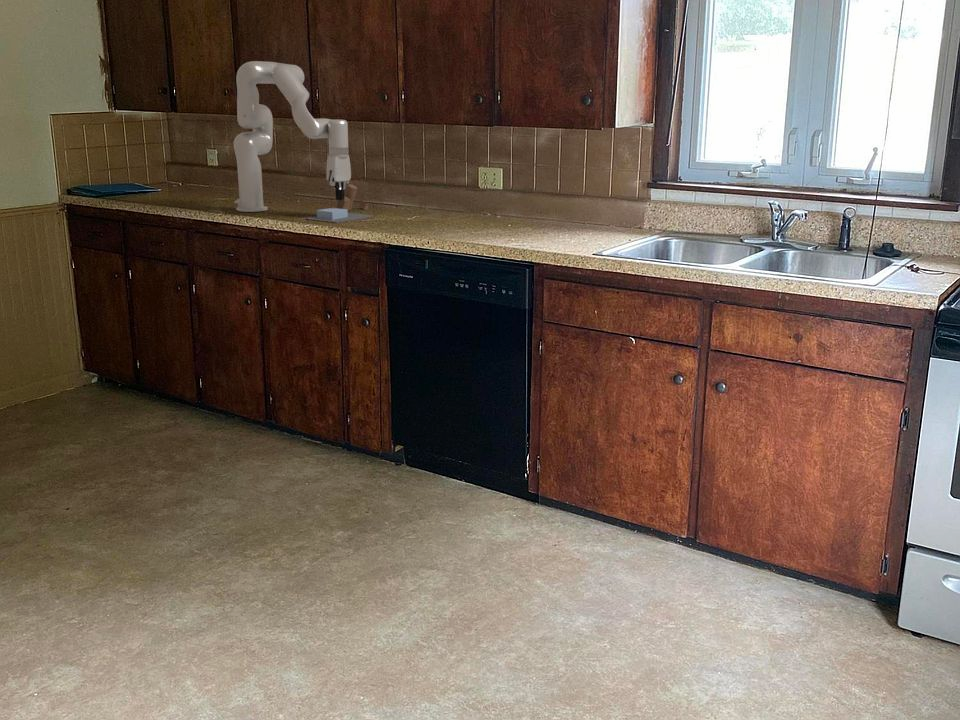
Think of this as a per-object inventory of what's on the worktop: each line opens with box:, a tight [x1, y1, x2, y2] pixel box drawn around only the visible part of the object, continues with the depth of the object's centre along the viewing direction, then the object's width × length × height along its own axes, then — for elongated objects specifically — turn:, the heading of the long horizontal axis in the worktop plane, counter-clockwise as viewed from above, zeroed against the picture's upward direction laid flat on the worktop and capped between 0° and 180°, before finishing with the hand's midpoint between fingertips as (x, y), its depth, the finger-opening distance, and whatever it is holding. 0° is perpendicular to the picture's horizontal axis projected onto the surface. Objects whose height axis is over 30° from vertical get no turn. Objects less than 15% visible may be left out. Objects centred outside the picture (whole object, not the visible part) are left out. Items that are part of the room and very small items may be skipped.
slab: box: [316, 207, 349, 220], centre depth 373 cm, size 8×3×9 cm
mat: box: [304, 212, 374, 224], centre depth 375 cm, size 16×22×1 cm
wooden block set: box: [335, 183, 369, 211], centre depth 395 cm, size 18×9×10 cm, turn 154°
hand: (340, 199), depth 375 cm, fingers closed
